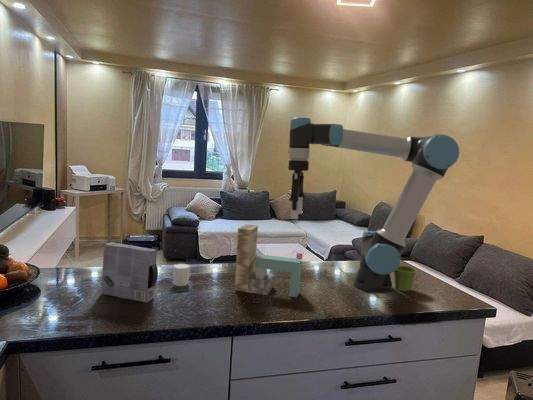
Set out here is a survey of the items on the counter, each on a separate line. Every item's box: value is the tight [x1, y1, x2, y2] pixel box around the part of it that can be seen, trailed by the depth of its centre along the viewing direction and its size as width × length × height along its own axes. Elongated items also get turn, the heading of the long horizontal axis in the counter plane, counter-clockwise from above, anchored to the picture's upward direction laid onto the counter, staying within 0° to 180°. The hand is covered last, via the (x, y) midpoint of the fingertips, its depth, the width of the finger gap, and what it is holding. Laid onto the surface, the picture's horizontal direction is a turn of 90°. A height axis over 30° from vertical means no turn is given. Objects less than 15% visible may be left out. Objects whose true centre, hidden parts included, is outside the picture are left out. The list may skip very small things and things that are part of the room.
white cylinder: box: [171, 263, 191, 287], centre depth 149 cm, size 7×7×7 cm
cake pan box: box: [100, 241, 159, 304], centre depth 132 cm, size 19×5×18 cm, turn 74°
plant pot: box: [393, 265, 418, 292], centre depth 159 cm, size 9×9×9 cm
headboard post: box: [234, 224, 274, 296], centre depth 147 cm, size 12×10×24 cm
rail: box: [256, 253, 302, 298], centre depth 146 cm, size 16×5×13 cm, turn 76°
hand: (296, 216), depth 148 cm, fingers open, 13 cm apart
